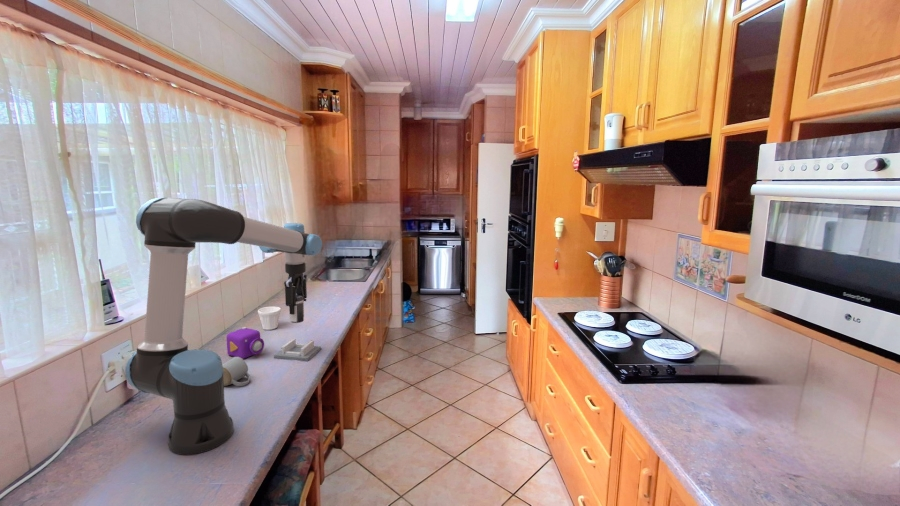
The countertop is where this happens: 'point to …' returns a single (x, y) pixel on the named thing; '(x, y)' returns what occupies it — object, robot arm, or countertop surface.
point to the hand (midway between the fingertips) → (297, 319)
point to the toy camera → (244, 343)
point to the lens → (299, 309)
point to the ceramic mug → (235, 371)
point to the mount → (297, 351)
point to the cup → (269, 317)
